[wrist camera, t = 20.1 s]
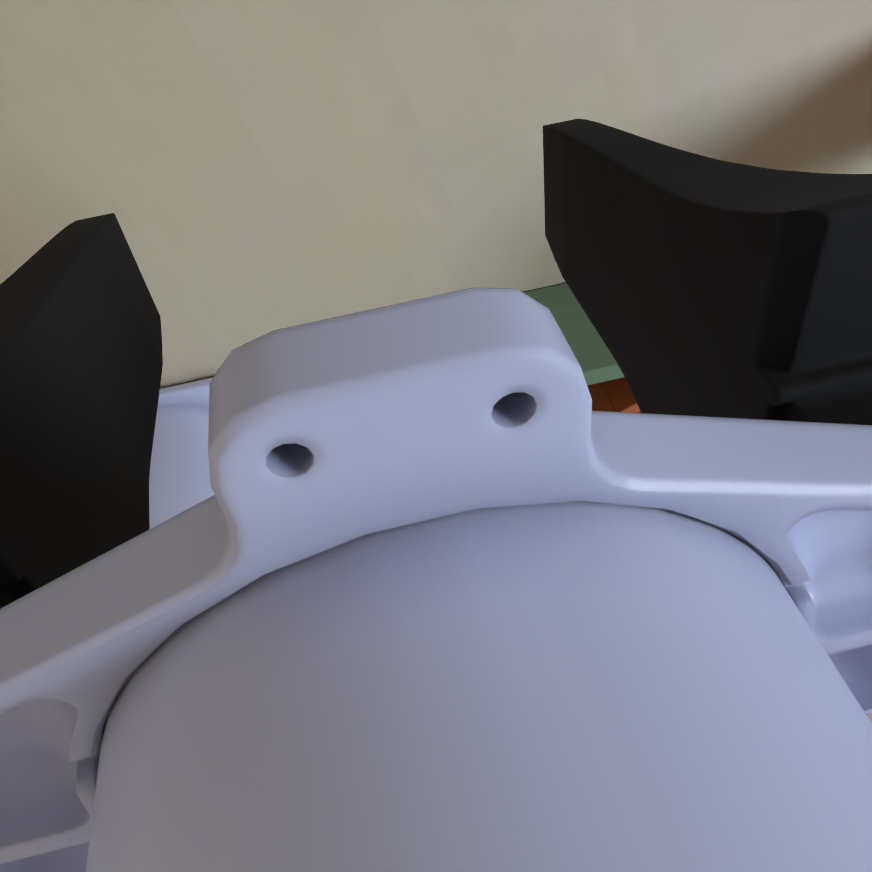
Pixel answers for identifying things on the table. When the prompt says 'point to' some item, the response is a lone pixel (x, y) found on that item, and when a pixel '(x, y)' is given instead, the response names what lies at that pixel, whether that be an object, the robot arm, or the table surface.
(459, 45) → the table surface
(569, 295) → the sage tub
